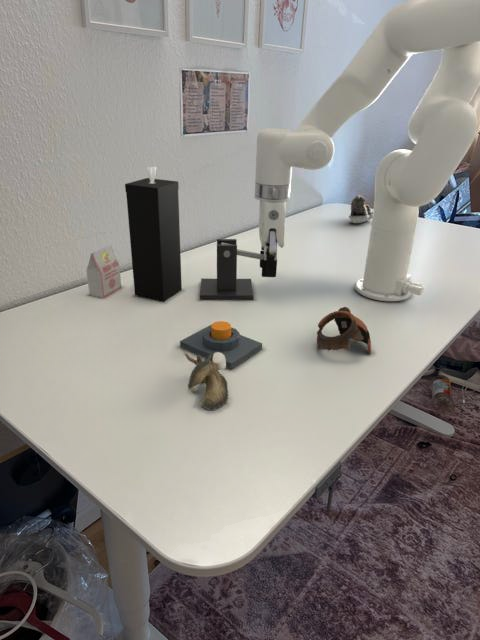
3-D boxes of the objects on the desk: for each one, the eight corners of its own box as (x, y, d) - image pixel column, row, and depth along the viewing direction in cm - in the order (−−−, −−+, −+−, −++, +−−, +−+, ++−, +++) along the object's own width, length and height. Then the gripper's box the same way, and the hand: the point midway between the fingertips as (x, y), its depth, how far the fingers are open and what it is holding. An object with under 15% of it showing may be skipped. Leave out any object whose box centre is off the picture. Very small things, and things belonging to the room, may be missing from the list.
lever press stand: (250, 283, 116) (252, 235, 110) (253, 300, 107) (255, 249, 102) (201, 283, 115) (200, 235, 110) (199, 300, 106) (198, 249, 101)
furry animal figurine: (172, 374, 77) (176, 397, 69) (194, 337, 76) (201, 356, 68) (212, 393, 80) (220, 418, 71) (234, 357, 79) (245, 379, 70)
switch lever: (270, 260, 111) (273, 250, 110) (273, 268, 106) (275, 258, 105) (219, 250, 109) (221, 240, 108) (219, 257, 105) (221, 247, 104)
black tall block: (182, 290, 111) (178, 165, 98) (163, 302, 105) (156, 170, 92) (153, 284, 114) (146, 161, 101) (134, 296, 107) (123, 167, 95)
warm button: (235, 335, 87) (235, 325, 86) (222, 342, 84) (222, 332, 83) (219, 329, 88) (219, 319, 88) (207, 336, 86) (206, 326, 85)
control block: (262, 349, 87) (262, 334, 86) (231, 369, 81) (231, 354, 80) (212, 329, 94) (212, 315, 93) (180, 347, 87) (179, 332, 86)
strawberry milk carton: (89, 295, 107) (84, 252, 103) (108, 284, 113) (104, 244, 109) (103, 298, 106) (98, 255, 102) (121, 287, 112) (117, 246, 107)
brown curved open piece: (378, 365, 84) (364, 333, 79) (327, 378, 87) (311, 349, 83) (370, 320, 93) (356, 289, 88) (323, 334, 96) (308, 305, 92)
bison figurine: (356, 217, 174) (360, 189, 170) (375, 220, 171) (379, 191, 166) (345, 224, 165) (348, 195, 161) (364, 228, 162) (369, 198, 157)
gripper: (295, 200, 94) (288, 286, 102) (285, 184, 109) (279, 259, 117) (257, 200, 93) (253, 286, 101) (252, 183, 109) (249, 259, 117)
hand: (267, 271), depth 109 cm, fingers closed on switch lever, 5 cm apart
